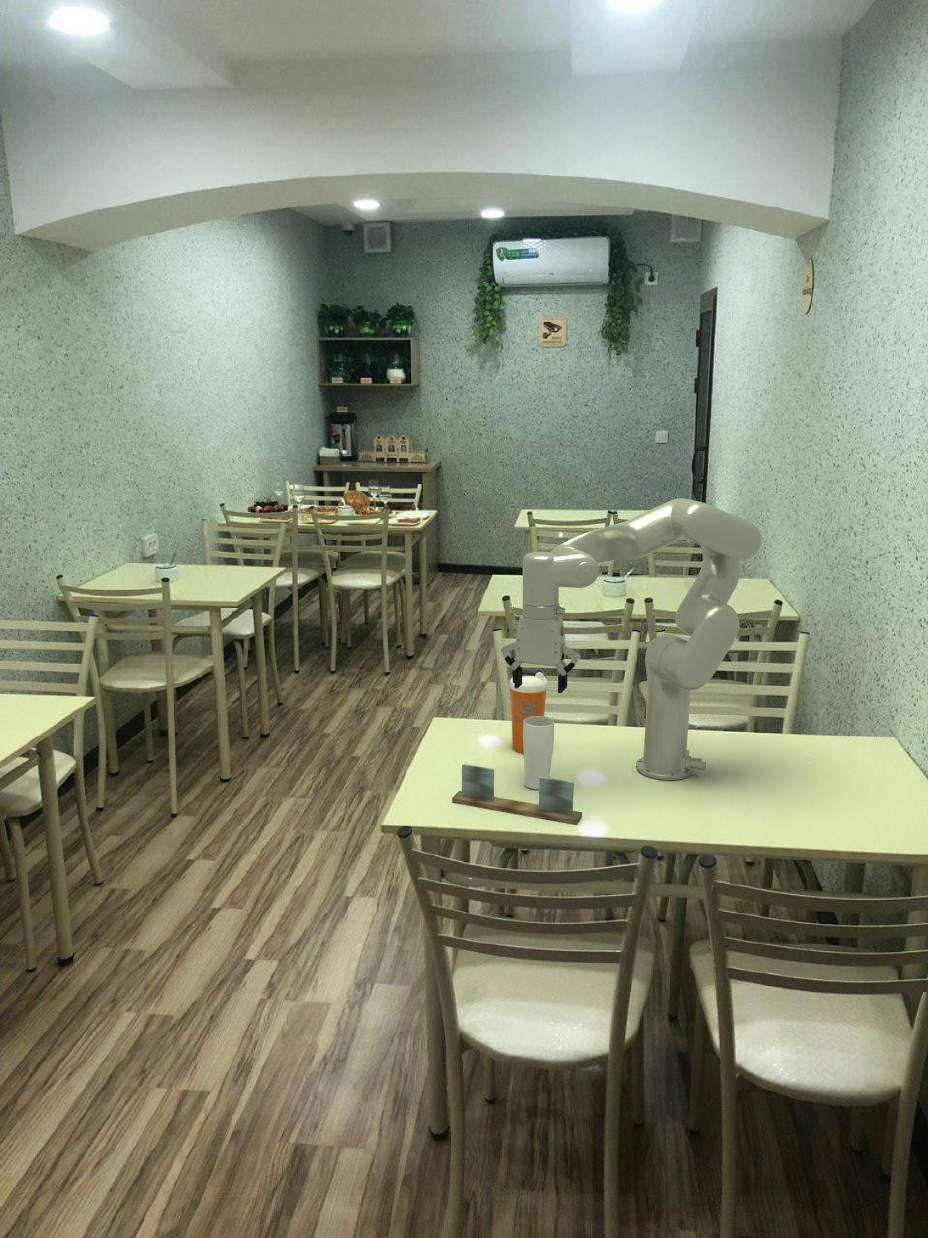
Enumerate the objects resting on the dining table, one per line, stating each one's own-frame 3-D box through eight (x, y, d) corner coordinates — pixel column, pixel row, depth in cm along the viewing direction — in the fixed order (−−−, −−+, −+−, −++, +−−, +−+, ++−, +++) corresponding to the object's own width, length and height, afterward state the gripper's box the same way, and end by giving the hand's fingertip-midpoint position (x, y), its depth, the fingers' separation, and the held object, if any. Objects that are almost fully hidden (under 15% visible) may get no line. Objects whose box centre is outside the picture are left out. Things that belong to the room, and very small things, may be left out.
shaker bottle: (506, 742, 231) (507, 664, 226) (541, 741, 232) (543, 663, 227) (511, 756, 222) (513, 675, 217) (548, 755, 223) (551, 674, 218)
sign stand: (581, 816, 191) (583, 780, 189) (576, 825, 187) (578, 787, 186) (459, 795, 201) (459, 760, 199) (452, 802, 197) (452, 766, 195)
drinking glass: (550, 793, 202) (552, 727, 198) (519, 790, 203) (521, 725, 200) (554, 780, 209) (556, 717, 205) (523, 778, 210) (525, 714, 206)
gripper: (585, 610, 197) (583, 688, 201) (507, 604, 203) (507, 679, 207) (575, 618, 190) (574, 699, 194) (495, 612, 196) (495, 689, 201)
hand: (539, 689), depth 201 cm, fingers open, 9 cm apart
